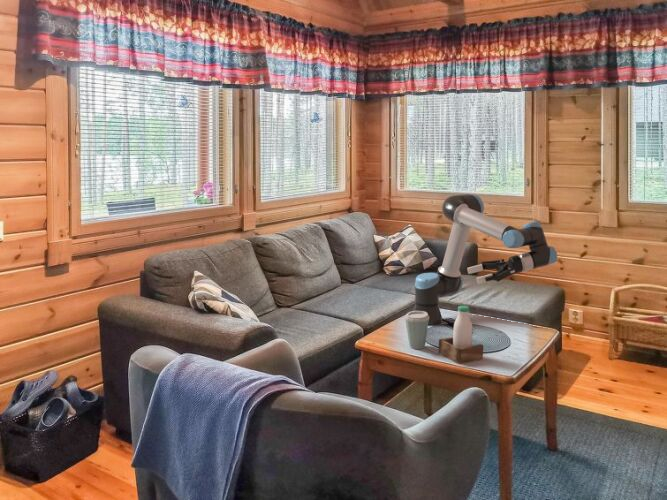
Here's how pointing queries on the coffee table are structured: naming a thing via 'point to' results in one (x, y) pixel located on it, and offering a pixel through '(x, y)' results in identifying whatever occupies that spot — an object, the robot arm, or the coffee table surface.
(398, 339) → the coffee table surface
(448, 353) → the wooden open tray
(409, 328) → the disposable coffee cup
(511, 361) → the coffee table surface
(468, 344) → the milk bottle
